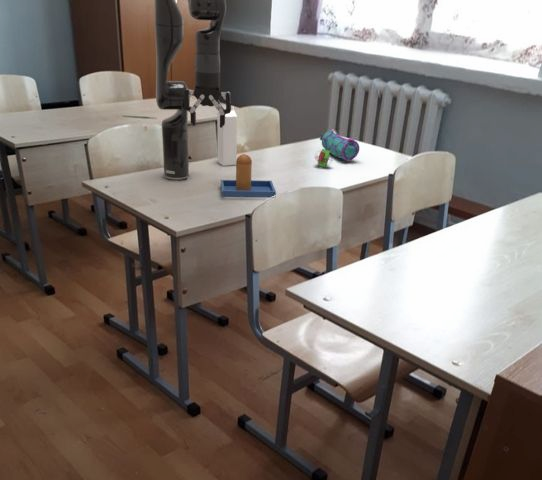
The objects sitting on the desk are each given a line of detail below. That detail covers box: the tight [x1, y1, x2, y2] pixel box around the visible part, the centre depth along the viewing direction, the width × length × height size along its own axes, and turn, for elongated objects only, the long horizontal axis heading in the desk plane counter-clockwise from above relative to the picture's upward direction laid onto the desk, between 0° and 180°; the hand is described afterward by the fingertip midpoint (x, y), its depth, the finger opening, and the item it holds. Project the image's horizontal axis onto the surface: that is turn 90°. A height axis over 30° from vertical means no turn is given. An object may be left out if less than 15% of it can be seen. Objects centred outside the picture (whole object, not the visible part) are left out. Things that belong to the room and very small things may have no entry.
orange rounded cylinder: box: [235, 153, 253, 191], centre depth 209 cm, size 5×5×13 cm
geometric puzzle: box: [314, 148, 334, 168], centre depth 245 cm, size 7×7×8 cm
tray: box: [220, 179, 277, 198], centre depth 212 cm, size 13×19×3 cm
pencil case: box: [319, 129, 360, 162], centre depth 259 cm, size 21×9×10 cm, turn 24°
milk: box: [216, 105, 238, 167], centre depth 237 cm, size 6×6×22 cm
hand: (207, 126), depth 186 cm, fingers open, 8 cm apart
